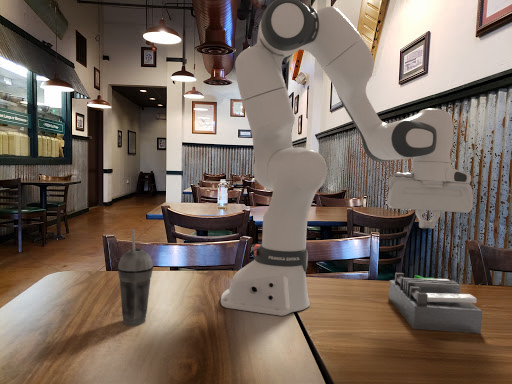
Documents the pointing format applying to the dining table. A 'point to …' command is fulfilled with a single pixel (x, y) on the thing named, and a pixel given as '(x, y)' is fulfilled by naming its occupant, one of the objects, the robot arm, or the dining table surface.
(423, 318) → the heatsink block
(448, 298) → the strap near
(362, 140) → the robot arm
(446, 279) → the strap far
